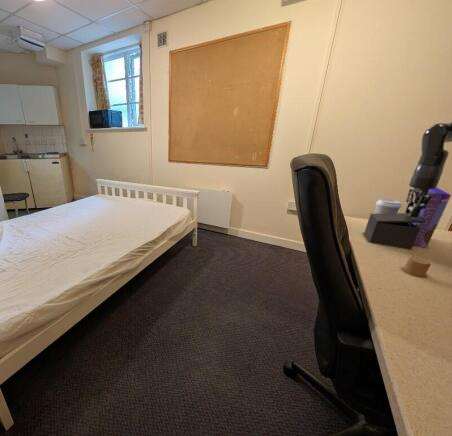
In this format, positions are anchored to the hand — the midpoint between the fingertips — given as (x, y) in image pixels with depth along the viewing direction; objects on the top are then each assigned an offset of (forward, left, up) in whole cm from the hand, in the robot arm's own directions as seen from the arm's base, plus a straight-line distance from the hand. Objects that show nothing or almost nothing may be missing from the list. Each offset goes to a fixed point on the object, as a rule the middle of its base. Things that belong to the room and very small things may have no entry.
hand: (411, 215), depth 95 cm
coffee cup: (+3, -19, -14) cm, 24 cm away
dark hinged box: (+5, 0, -14) cm, 14 cm away
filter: (+4, +29, -14) cm, 32 cm away
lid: (+4, 0, -2) cm, 5 cm away
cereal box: (-7, -9, -14) cm, 18 cm away
